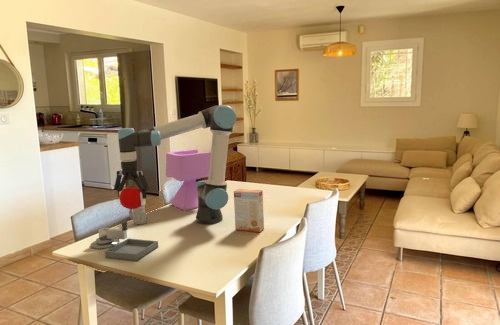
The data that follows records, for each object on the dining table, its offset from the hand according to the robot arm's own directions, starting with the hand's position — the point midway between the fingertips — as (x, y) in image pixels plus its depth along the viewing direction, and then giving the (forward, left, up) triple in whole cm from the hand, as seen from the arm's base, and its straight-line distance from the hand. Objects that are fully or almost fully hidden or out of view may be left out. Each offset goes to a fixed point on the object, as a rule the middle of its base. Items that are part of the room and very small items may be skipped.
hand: (133, 204), depth 184 cm
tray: (-9, +15, -18) cm, 25 cm away
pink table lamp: (+3, -65, -18) cm, 68 cm away
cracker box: (-51, -26, -18) cm, 60 cm away
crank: (+6, +8, -15) cm, 18 cm away
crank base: (+11, +9, -18) cm, 23 cm away
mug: (+16, -24, -18) cm, 34 cm away
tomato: (0, 0, -2) cm, 2 cm away
